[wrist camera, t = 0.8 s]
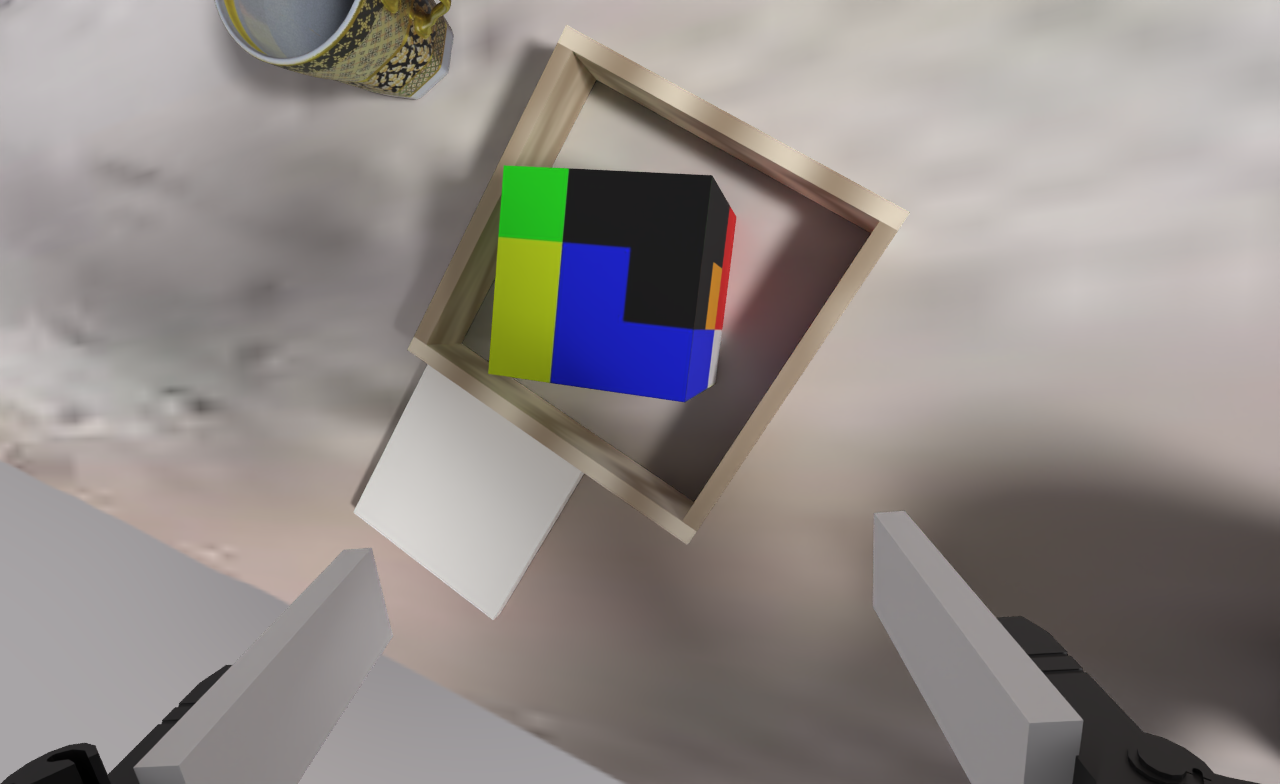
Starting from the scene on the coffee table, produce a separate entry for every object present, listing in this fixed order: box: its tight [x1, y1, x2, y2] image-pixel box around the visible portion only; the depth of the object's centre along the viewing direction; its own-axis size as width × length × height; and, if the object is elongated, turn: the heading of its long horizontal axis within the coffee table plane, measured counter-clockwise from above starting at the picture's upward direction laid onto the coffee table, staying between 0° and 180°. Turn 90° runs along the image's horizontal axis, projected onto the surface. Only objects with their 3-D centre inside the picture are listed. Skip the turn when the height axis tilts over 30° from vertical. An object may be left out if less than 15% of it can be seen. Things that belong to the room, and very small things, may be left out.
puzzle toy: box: [488, 165, 736, 402], centre depth 33 cm, size 10×10×10 cm
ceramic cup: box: [214, 0, 454, 99], centre depth 35 cm, size 13×10×10 cm
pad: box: [354, 364, 584, 620], centre depth 42 cm, size 13×13×1 cm
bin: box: [407, 25, 910, 545], centre depth 35 cm, size 21×21×4 cm
